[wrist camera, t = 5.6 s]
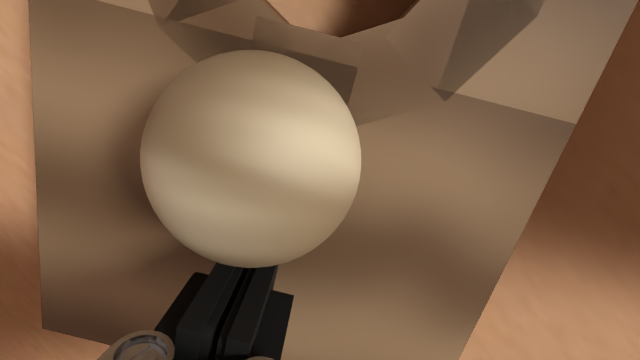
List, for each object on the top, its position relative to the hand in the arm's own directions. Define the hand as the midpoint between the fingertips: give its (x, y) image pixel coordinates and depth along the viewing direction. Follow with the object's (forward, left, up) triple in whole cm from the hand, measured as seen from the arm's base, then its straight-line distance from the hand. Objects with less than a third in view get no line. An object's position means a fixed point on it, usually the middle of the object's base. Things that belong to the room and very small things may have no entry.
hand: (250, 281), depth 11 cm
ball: (0, -5, +2) cm, 5 cm away
